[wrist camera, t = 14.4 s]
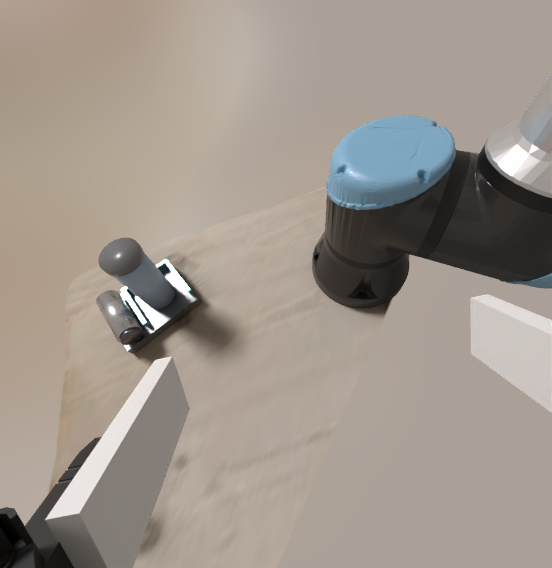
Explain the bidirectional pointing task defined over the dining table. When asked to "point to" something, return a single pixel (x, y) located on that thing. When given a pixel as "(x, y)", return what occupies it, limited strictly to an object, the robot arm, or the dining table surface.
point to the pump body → (136, 272)
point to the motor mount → (145, 311)
